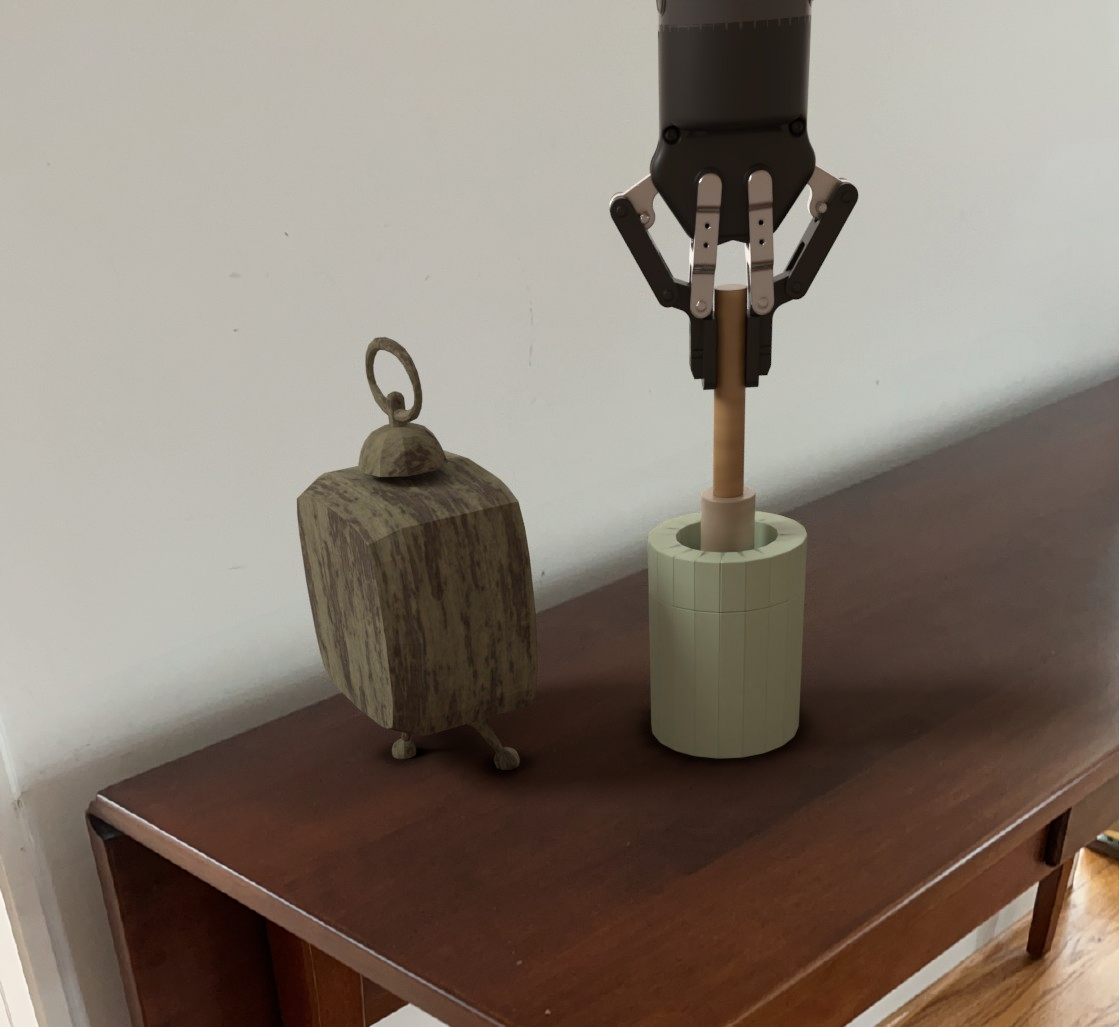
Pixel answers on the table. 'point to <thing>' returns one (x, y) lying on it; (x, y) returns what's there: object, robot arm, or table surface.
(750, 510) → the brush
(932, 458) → the table surface
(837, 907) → the table surface
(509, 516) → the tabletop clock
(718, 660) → the cylindrical container
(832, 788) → the table surface
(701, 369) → the robot arm
